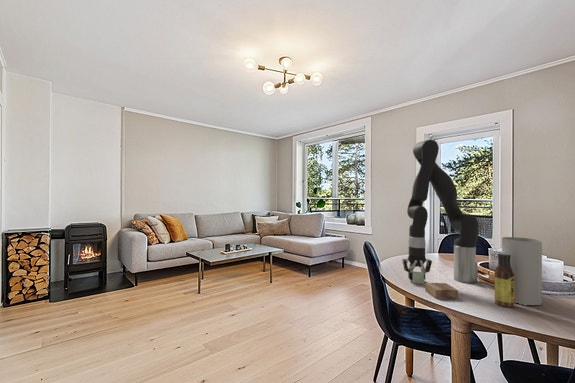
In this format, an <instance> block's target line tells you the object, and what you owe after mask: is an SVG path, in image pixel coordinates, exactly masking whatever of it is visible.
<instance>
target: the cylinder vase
mask: <svg viewBox="0 0 575 383" xmlns="http://www.w3.org/2000/svg"><path fill="white" fill-rule="evenodd" d="M501 253H505V254H510V255H511V258H510V266H511V268H512V271H513V273H514V277H515V303H514V304H516V303H519V304H518V305H521V304H526V305H525V306H527V305H539V306H541V305H542V304H541V303H543V294H542V293H543V241H542V240H540V239H536V238H530V237H529V238H527V237H517V236H516V237H515V236H505V237H504V236H503V237H502V238H501ZM540 304H541V305H540Z"/></svg>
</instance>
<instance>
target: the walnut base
mask: <svg viewBox="0 0 575 383" xmlns="http://www.w3.org/2000/svg"><path fill="white" fill-rule="evenodd" d="M424 286H425V287H424V290H425V293H427V295H430V296H431V297H432V298H433V299H436V300H437V299H438V300H440V299H441V300H444V299H445V300H458V298H459V297H458V295H459V294H458V292H459V291H458V289H456V288H455V287H453V286H452V285H450V284H448V283H446V282H424Z"/></svg>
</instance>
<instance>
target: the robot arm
mask: <svg viewBox="0 0 575 383" xmlns="http://www.w3.org/2000/svg"><path fill="white" fill-rule="evenodd" d="M439 148H440V147H439V144H438V142H437V141H436V140H434V139H426V140H424V141H420V142H417V143H415V144H414V146H413V148H412V149H413V150H412V153H413V156H414V158H415V160H416V162H418V163H419V165H420V168H419V170H418V173H417V174H416V177H415V179H414V182H413V185H412V192H411V197H410V200H409V203H408V206H407V210H406V211H407V216H408V217H409V218H410V219H412V224H410V225H409V228H408V230H409V232H408V234H409V237H408V256H407V258H402V259H401V261H402V265H403V269H404V271H405V272H407V273H408V275H407V276H408V280H409V281H410V280H411V281H410V282H412V278H413V273H412V271H413V270H415V268H417V267H418V268H420V271H422V272H423V273H424V281H425V280H426V274H427V273H430V271H431V267H432V264H433V261H432V260H431V259H429V258H426V226H427V224H428V223H427V222H428V217H429V216H428V215H429V214H428V209H427V208H426V207H425V206H423V204H424V202H426V201H427V199H428V195H429V188H430V185H431V187H432V188H433V191H434V192H435V194H436V196H437V197H438V199H439V201H440V204H441V206H442V207H443V209H444V211H445V214H446V216H447V219H448V222H449V224H450V226H451V228H452V229H453V230H455V231H456V232H460V233H459V237H458V238H456V239H454V240H453V241H454V242H453V279H454V281H457V282H461V283H465V284H466V283H469V284H474V283H478V280H479V279H478V278H479V276H478V272H479V271H478V269H479V266H478V262H477V260H476V258H477V257H476V253H477V252H476V251H477V250H476V248H477V246H476V245H477V243H478V240H479V221H478V219H477V217H476V216H475V215H472V214H468V213H467V214H466V213H463V211H462V210H461V208H460V207H459V204H458V190H457V187H456V185H455V183H454V181H453V179H452V177H451V176H450V175H449V174H448V173H447V172H446V171H445V170H444V169H443V168H441V166H439V164H437V162H436V161H437V157H438V154H439V151H440V149H439ZM408 263H409V265H408Z"/></svg>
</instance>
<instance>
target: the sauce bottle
mask: <svg viewBox="0 0 575 383" xmlns="http://www.w3.org/2000/svg"><path fill="white" fill-rule="evenodd" d="M497 258H498V262H497V266H496V267H495V269H494V303H495V304H497V305H499V306H500V305H501V306H500V307H506V308H513V307H514V306H515V303H514V302H515V277H514V273H513V271H512V268H511V266H510V258H511V255H510V254H505V253H502V252H499V253H497Z"/></svg>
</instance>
